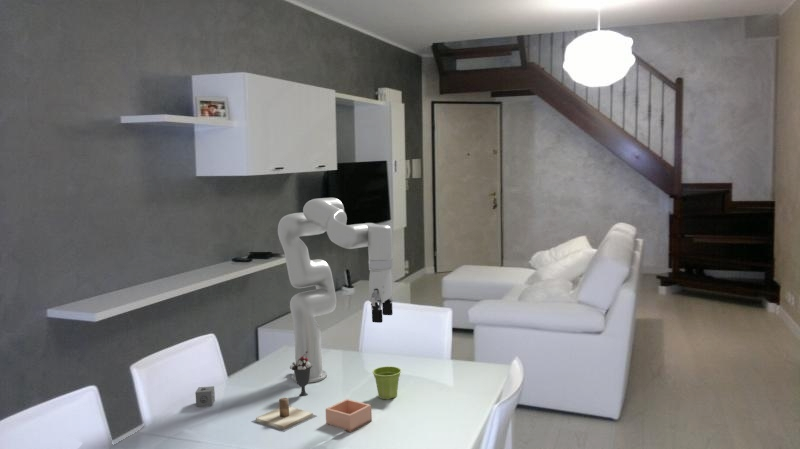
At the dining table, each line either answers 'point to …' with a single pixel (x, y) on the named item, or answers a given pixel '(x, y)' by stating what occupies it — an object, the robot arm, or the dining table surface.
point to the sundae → (302, 373)
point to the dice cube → (205, 396)
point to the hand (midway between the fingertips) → (382, 318)
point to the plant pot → (387, 381)
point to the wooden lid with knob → (284, 416)
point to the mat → (282, 429)
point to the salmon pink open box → (349, 415)
